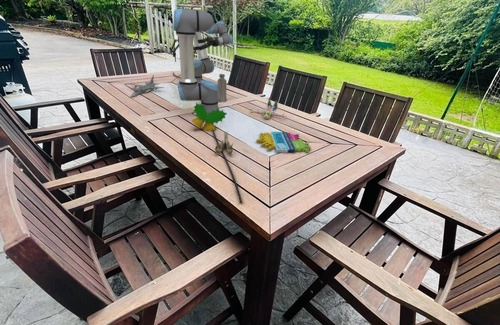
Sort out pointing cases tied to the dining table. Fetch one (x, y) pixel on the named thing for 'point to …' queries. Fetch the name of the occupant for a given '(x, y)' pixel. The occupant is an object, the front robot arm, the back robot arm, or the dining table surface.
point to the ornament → (207, 117)
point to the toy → (269, 111)
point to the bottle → (221, 89)
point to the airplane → (145, 87)
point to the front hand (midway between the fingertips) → (184, 61)
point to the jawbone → (224, 145)
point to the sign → (283, 142)
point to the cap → (221, 75)
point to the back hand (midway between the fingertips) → (195, 45)
